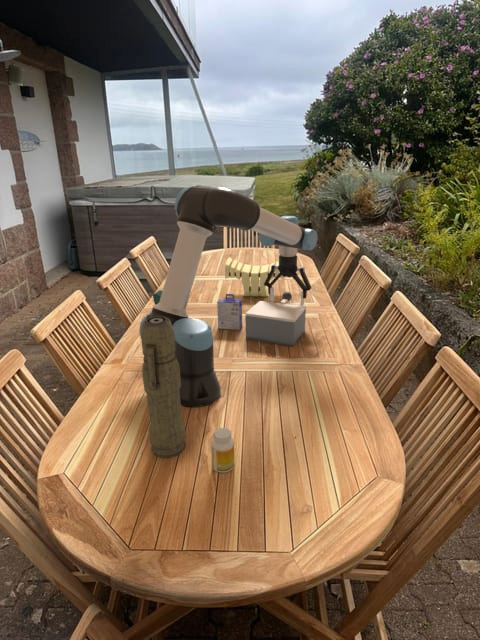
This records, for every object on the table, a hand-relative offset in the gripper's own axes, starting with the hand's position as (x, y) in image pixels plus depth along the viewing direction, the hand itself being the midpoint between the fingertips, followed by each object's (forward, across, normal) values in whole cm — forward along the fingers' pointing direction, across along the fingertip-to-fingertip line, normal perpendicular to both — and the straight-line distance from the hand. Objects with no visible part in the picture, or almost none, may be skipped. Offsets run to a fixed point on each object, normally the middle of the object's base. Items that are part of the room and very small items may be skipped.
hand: (286, 303), depth 181 cm
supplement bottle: (+9, -14, +92) cm, 94 cm away
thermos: (+9, +2, +91) cm, 91 cm away
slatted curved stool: (+9, +28, -34) cm, 45 cm away
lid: (-1, 0, +10) cm, 10 cm away
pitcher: (+9, +34, +39) cm, 53 cm away
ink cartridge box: (+9, +21, +13) cm, 26 cm away
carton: (+9, 0, +14) cm, 17 cm away
